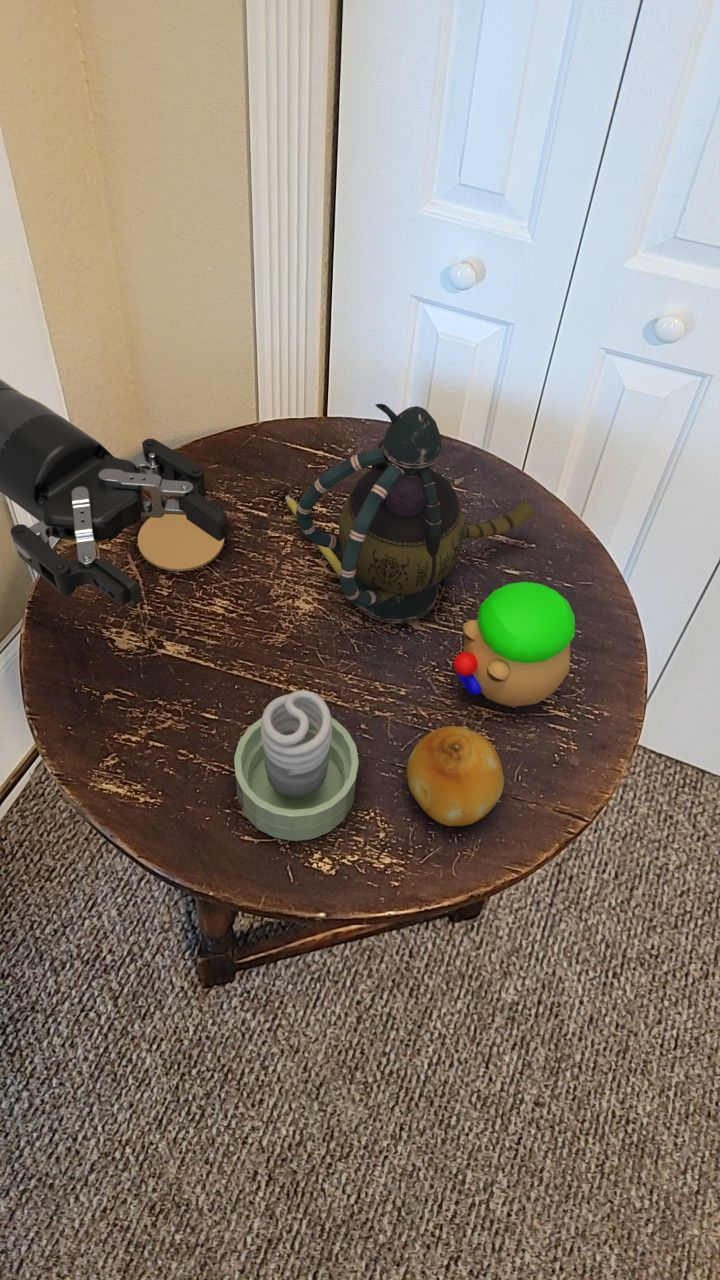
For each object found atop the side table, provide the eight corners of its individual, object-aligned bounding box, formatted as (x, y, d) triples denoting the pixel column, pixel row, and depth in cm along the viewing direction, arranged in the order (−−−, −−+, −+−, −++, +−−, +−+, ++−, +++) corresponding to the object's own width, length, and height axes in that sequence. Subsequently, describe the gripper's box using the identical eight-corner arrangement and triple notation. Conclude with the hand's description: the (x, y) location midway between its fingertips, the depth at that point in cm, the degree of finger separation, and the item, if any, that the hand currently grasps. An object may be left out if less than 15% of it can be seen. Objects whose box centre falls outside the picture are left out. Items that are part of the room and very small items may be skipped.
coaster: (154, 582, 94) (154, 579, 94) (126, 523, 99) (126, 520, 98) (237, 555, 97) (237, 553, 96) (206, 500, 102) (206, 497, 101)
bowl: (265, 862, 76) (263, 835, 72) (219, 763, 82) (216, 733, 78) (375, 815, 80) (379, 786, 76) (324, 723, 85) (326, 692, 81)
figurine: (525, 632, 93) (551, 550, 83) (576, 707, 87) (610, 629, 78) (424, 665, 90) (439, 583, 80) (470, 745, 84) (491, 668, 75)
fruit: (372, 781, 79) (426, 760, 72) (421, 720, 84) (476, 696, 77) (435, 850, 80) (493, 836, 73) (480, 786, 85) (538, 767, 78)
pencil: (288, 494, 103) (287, 488, 102) (349, 579, 96) (350, 573, 95) (279, 497, 103) (279, 491, 102) (341, 582, 96) (341, 576, 95)
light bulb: (327, 817, 79) (332, 743, 69) (261, 814, 78) (256, 740, 69) (330, 759, 82) (334, 681, 73) (266, 756, 82) (262, 678, 72)
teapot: (289, 576, 95) (288, 391, 77) (493, 504, 104) (535, 322, 85) (343, 662, 89) (355, 482, 71) (555, 578, 97) (615, 398, 79)
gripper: (-58, 467, 66) (96, 585, 60) (97, 375, 73) (249, 473, 67) (-29, 539, 72) (114, 653, 66) (112, 448, 79) (252, 543, 73)
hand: (182, 562), depth 67 cm, fingers open, 8 cm apart
